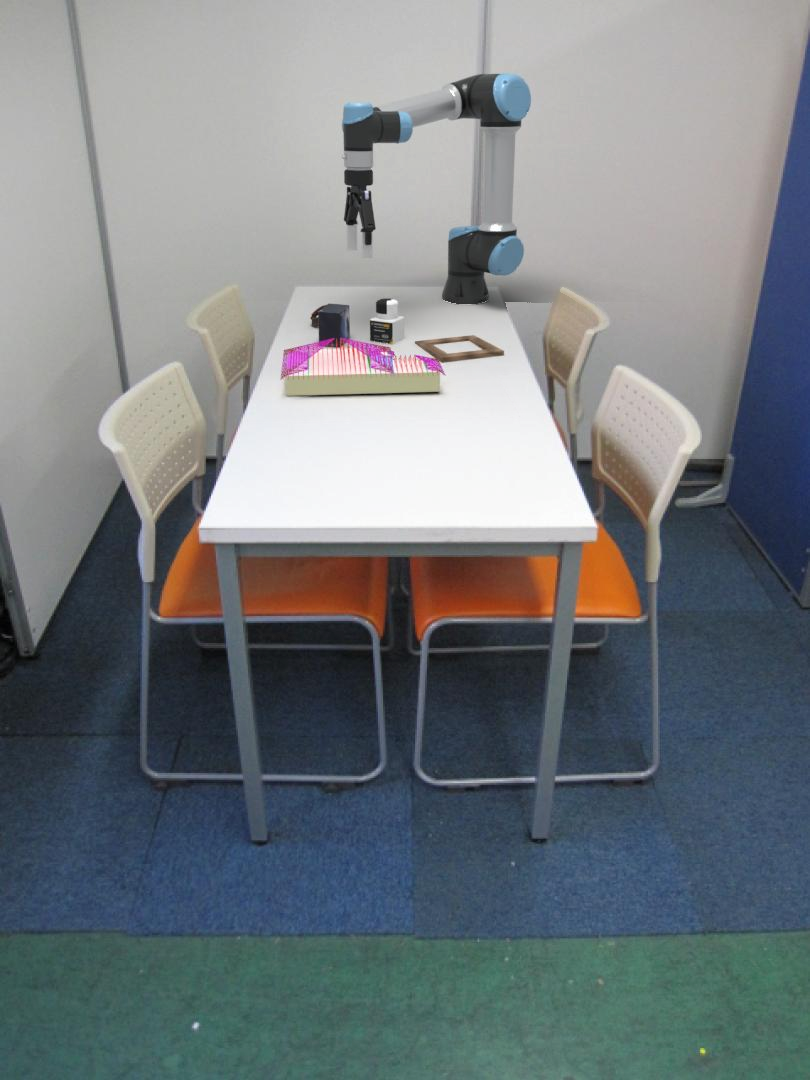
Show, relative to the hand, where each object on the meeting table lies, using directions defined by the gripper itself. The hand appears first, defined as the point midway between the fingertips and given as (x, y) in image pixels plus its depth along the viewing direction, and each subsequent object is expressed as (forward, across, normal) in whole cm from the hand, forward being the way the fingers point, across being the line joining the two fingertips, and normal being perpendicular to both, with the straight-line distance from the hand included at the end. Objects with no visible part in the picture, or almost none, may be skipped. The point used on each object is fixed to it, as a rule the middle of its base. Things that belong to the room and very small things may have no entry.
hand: (359, 254), depth 236 cm
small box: (+24, +5, -9) cm, 25 cm away
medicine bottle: (+23, +7, +6) cm, 25 cm away
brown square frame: (+23, +22, +21) cm, 38 cm away
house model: (+24, +36, -11) cm, 44 cm away
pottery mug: (+24, -14, -4) cm, 28 cm away
